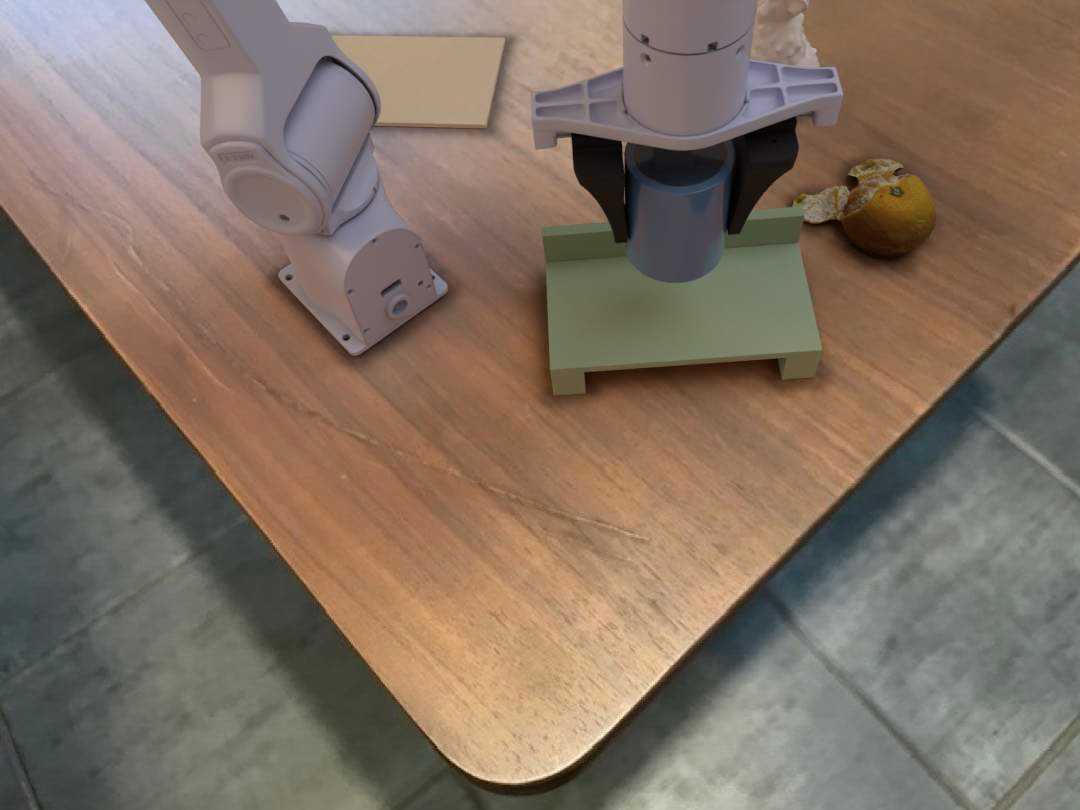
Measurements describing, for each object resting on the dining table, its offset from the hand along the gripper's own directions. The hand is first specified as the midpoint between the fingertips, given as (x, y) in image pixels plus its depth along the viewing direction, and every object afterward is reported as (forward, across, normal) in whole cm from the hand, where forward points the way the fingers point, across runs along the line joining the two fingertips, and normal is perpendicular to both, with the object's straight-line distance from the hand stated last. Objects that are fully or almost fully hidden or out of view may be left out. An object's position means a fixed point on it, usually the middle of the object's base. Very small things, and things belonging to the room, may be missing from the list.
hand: (676, 225), depth 53 cm
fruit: (+10, -14, -9) cm, 20 cm away
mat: (+10, +20, -26) cm, 34 cm away
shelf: (+10, 0, 0) cm, 10 cm away
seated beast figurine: (+10, -8, -21) cm, 25 cm away
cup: (+2, 0, 0) cm, 2 cm away
